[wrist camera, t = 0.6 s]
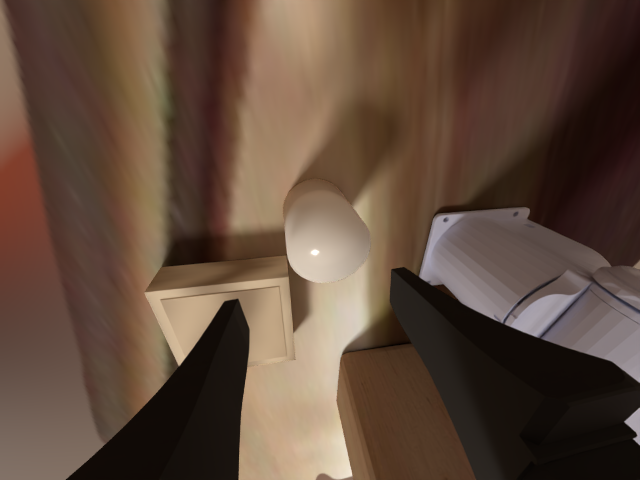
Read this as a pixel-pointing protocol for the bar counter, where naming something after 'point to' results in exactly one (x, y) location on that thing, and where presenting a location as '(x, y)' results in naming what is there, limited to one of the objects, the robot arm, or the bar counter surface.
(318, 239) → the white rounded cylinder
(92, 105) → the bar counter surface
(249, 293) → the base
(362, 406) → the wooden block
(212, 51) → the bar counter surface
